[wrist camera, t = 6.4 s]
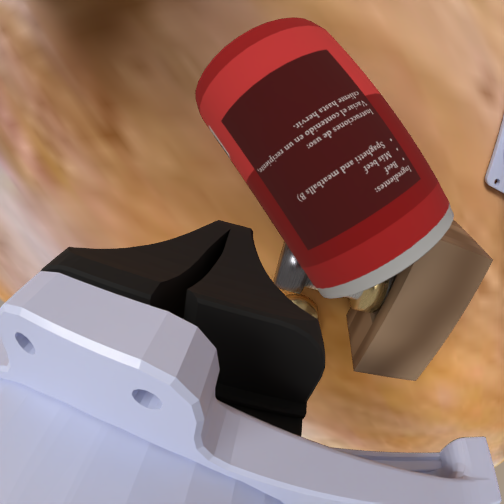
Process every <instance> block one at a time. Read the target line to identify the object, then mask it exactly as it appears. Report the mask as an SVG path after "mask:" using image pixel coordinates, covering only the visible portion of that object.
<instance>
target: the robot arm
mask: <svg viewBox="0 0 504 504" xmlns="http://www.w3.org/2000/svg"><path fill="white" fill-rule="evenodd" d="M496 179H497V183H496V184H495V183H494V182H495V180H496ZM485 182H486V183H487V184H488V185H489V186H491V187H493V188H495V189H497V190H499V191H500V192H502V193H504V116H503V120H502V124H501V128H500V131H499V135H498V138H497V142H496V145H495V148H494V152H493V155H492V158H491V161H490V164H489V167H488V170H487V173H486V176H485ZM324 369H325V349H324V342H323V338H322V333H321V329H320V325H319V321H318V319H317V318H315V317H314V316H312V315H310V314H309V313H307V312H306V311H304V310H303V309H301V308H300V307H298V306H297V305H296V304H295V303H293V302H292V301H291V300H290V299H289V298H288V297H286V296H285V295H284V294H283V293H282V292H281V291H280V290H279V288H278V287H277V286H276V285H275V284H274V283H273V281H272V280H271V279H270V278H269V276H268V275H267V273H266V271H265V270H264V268H263V266H262V264H261V261H260V259H259V257H258V254H257V251H256V248H255V245H254V240H253V231H252V229H251V228H247V227H243V226H239V225H235V224H232V223H228V222H224V221H220V220H218V221H215V222H213V223H211V224H209V225H206V226H204V227H202V228H200V229H197V230H195V231H193V232H190V233H187V234H185V235H182V236H179V237H177V238H174V239H171V240H167V241H164V242H159V243H155V244H151V245H144V246H137V247H130V248H118V249H89V248H74V247H68V248H67V249H66V250H65V251H63V252H62V253H61V254H60V255H58V256H57V257H56V258H55V259H53V260H52V261H51V262H50V263H49V264H47V265H46V266H45V267H44V268H43V269H42V270H41V271H40V272H39V273H38V274H36V275H35V276H34V277H33V278H32V279H31V280H30V281H28V282H27V283H26V284H25V285H24V286H23V287H22V288H21V289H19V290H18V291H17V292H16V293H15V294H14V295H13V296H12V297H11V298H10V299H9V300H7V301H6V302H5V303H4V304H3V306H2V307H1V308H0V504H499V503H500V502H501V495H500V490H499V486H498V482H497V478H496V473H495V469H494V465H493V462H492V458H491V454H490V451H489V447H488V444H487V441H486V437H483V436H482V437H462V438H458V439H456V440H453V441H452V442H450V443H449V444H447V445H446V446H445V447H444V448H443V449H442V450H441V452H436V453H401V452H377V451H362V450H351V449H341V448H332V447H328V446H325V445H322V444H319V443H317V442H314V441H311V440H308V439H306V438H303V437H301V432H302V419H304V417H305V415H306V408H307V400H308V399H309V397H310V396H311V394H312V392H313V391H314V389H315V387H316V386H317V384H318V382H319V381H320V379H321V377H322V374H323V371H324Z"/></svg>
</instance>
